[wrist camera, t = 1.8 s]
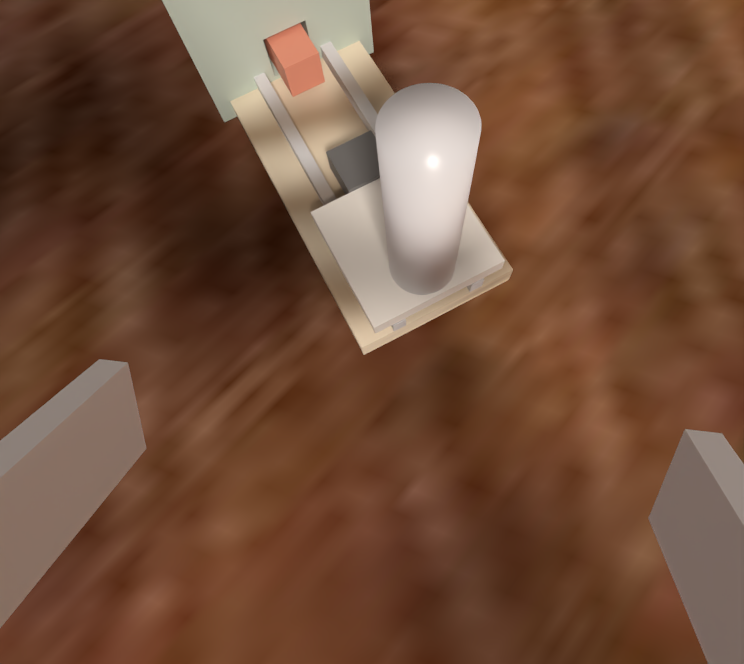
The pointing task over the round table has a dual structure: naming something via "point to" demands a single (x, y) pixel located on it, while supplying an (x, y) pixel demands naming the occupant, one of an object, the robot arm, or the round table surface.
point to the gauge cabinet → (258, 37)
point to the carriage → (409, 205)
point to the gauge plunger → (295, 59)
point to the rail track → (315, 178)
